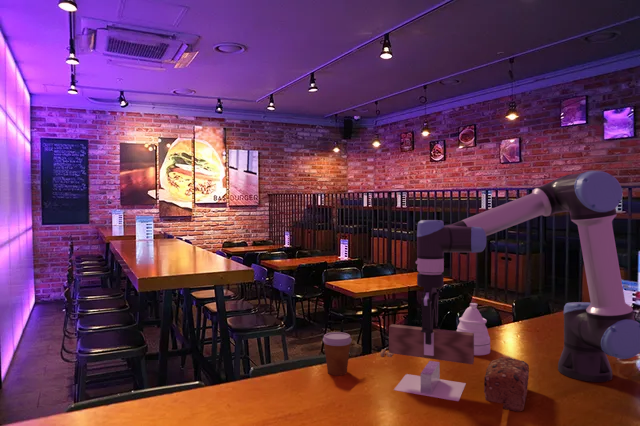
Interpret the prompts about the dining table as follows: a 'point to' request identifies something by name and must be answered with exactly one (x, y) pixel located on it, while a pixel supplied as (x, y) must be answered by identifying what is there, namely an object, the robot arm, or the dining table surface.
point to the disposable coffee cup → (337, 352)
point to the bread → (507, 382)
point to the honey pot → (475, 329)
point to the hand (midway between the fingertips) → (430, 352)
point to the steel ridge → (430, 377)
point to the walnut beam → (445, 343)
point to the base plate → (442, 389)
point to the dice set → (386, 353)
